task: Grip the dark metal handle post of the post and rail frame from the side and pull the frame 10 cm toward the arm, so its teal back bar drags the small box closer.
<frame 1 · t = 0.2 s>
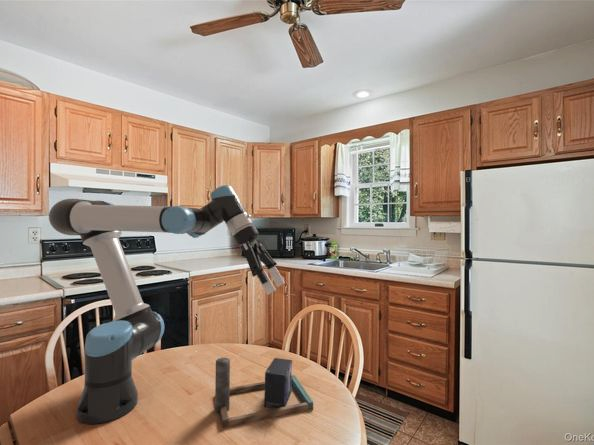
hand: (276, 288, 95), 34 cm above the table, tool tilted 30°, fingers open, 13 cm apart
post and rail frame: (261, 378, 92), point 7 cm above the table, slide at 0.0 cm
small box: (278, 400, 94), resting in post and rail frame
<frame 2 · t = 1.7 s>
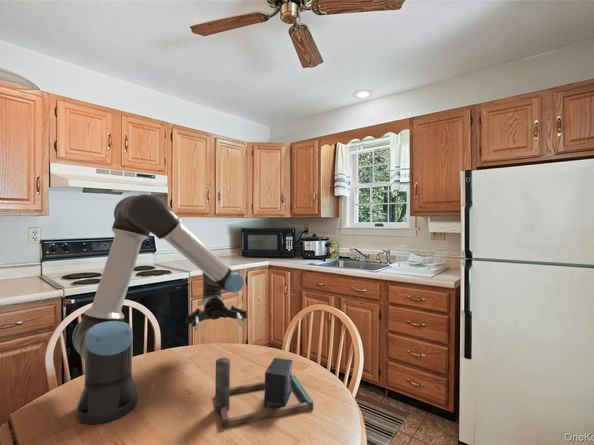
hand: (219, 324, 98), 21 cm above the table, tool horizontal, fingers open, 13 cm apart
nothing on the table moved.
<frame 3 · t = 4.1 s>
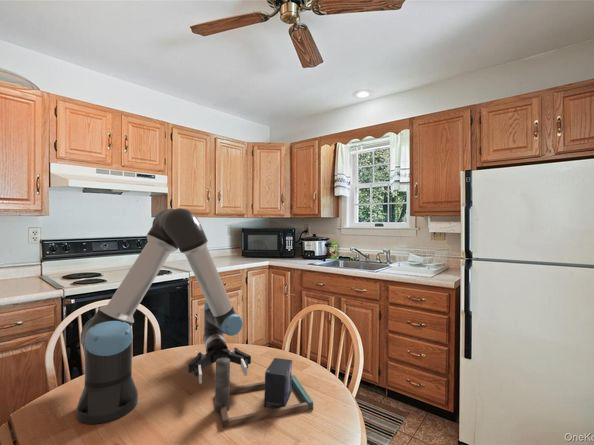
hand: (223, 375, 93), 7 cm above the table, tool horizontal, fingers open, 13 cm apart
nothing on the table moved.
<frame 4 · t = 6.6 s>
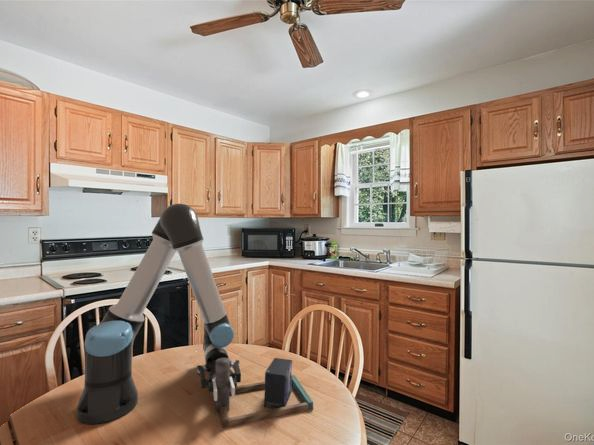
hand: (224, 394, 83), 7 cm above the table, tool horizontal, fingers closed on post and rail frame, 4 cm apart
post and rail frame: (261, 378, 92), point 7 cm above the table, slide at 0.0 cm, touching gripper
everything else where it was.
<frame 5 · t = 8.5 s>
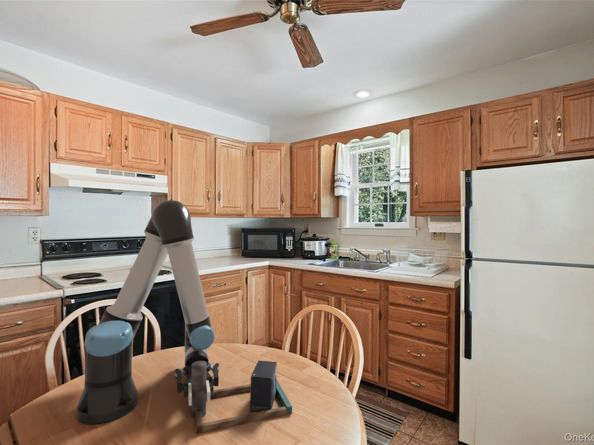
hand: (199, 398, 81), 7 cm above the table, tool horizontal, fingers closed on post and rail frame, 4 cm apart
post and rail frame: (239, 382, 90), point 7 cm above the table, slide at 6.5 cm, touching gripper, small box
small box: (263, 403, 92), resting in post and rail frame
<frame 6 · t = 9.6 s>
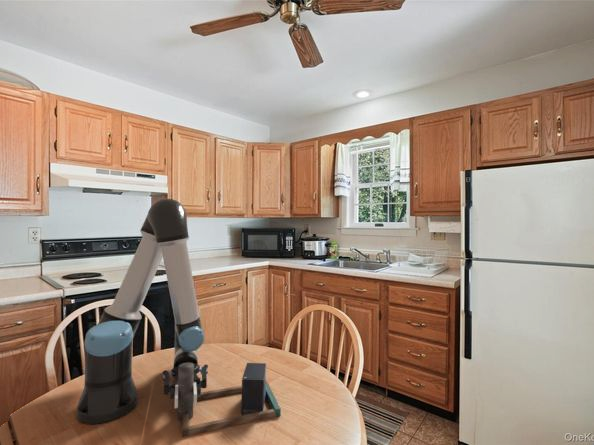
hand: (185, 401, 79), 7 cm above the table, tool horizontal, fingers closed on post and rail frame, 4 cm apart
post and rail frame: (228, 384, 88), point 7 cm above the table, slide at 10.0 cm, touching gripper
small box: (254, 406, 90), resting in post and rail frame
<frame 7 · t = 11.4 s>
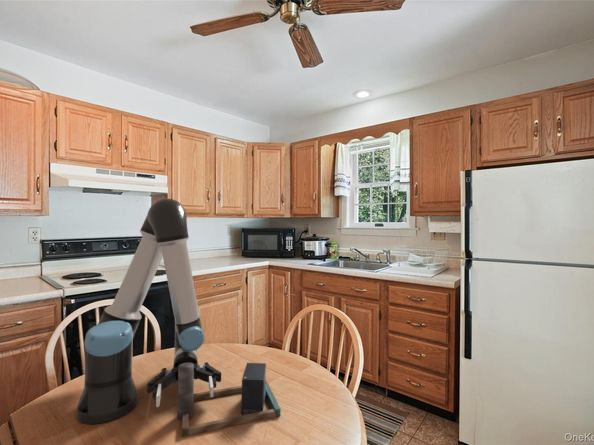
hand: (185, 396, 81), 7 cm above the table, tool horizontal, fingers open, 13 cm apart
post and rail frame: (227, 384, 88), point 7 cm above the table, slide at 10.0 cm
everything else where it was.
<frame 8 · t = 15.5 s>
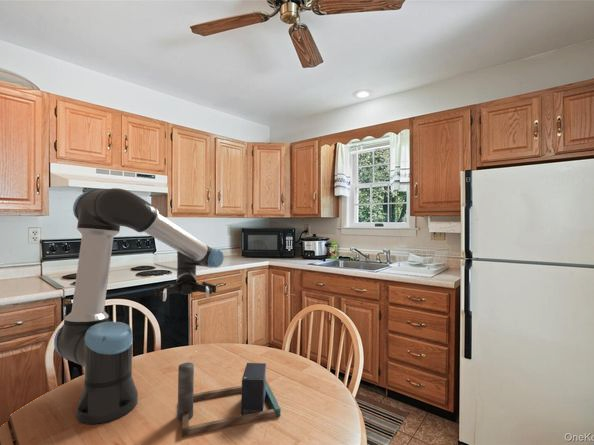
hand: (186, 295, 100), 30 cm above the table, tool horizontal, fingers open, 13 cm apart
nothing on the table moved.
at the end: post and rail frame slide at 10.0 cm; small box inside the target area (1.6 cm from its centre), resting in post and rail frame; small box tilted 0° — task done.
